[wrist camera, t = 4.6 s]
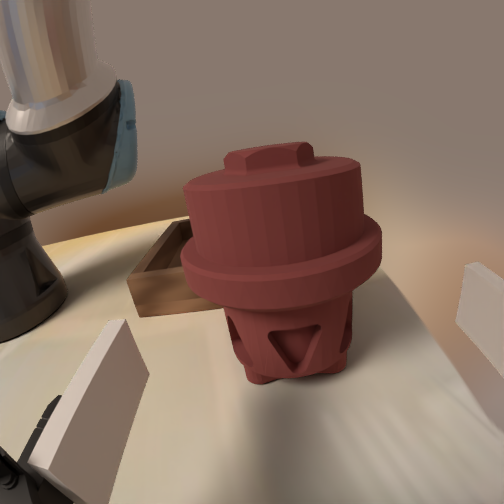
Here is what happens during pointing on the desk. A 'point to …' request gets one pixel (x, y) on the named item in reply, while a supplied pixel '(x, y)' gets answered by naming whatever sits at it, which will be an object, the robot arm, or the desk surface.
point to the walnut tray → (165, 277)
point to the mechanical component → (282, 255)
